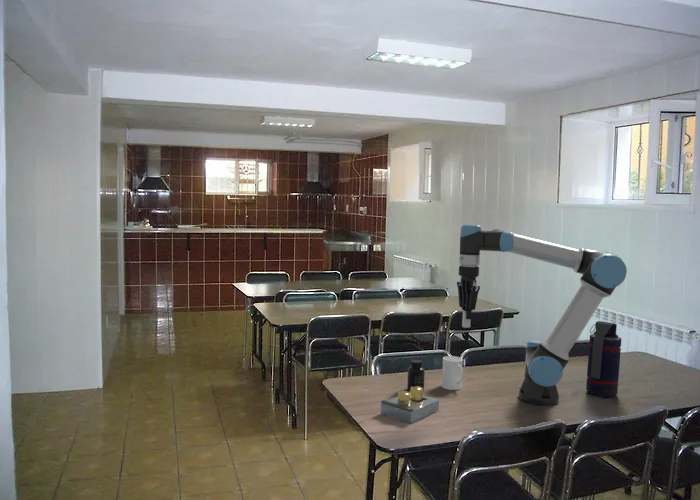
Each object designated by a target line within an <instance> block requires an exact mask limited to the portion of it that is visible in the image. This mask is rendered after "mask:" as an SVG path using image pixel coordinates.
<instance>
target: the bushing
mask: <svg viewBox="0 0 700 500" xmlns="http://www.w3.org/2000/svg"><path fill="white" fill-rule="evenodd" d="M409 392H410V393H411V401H414V402H418V403H420V402H422V397H423V395H424V391H423V388H422V387H419V386H412V387H410V391H409Z"/></svg>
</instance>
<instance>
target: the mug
mask: <svg viewBox="0 0 700 500" xmlns="http://www.w3.org/2000/svg"><path fill="white" fill-rule="evenodd" d="M463 363H464V362H463V358H461V357H459V356H455V355H446V356H443V357H442V372H441V384H440V387H441V388H443V389H445V390H449V391H459V390H461V389H462V388H463V386H462V381H463V380H464V371H463Z"/></svg>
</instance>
